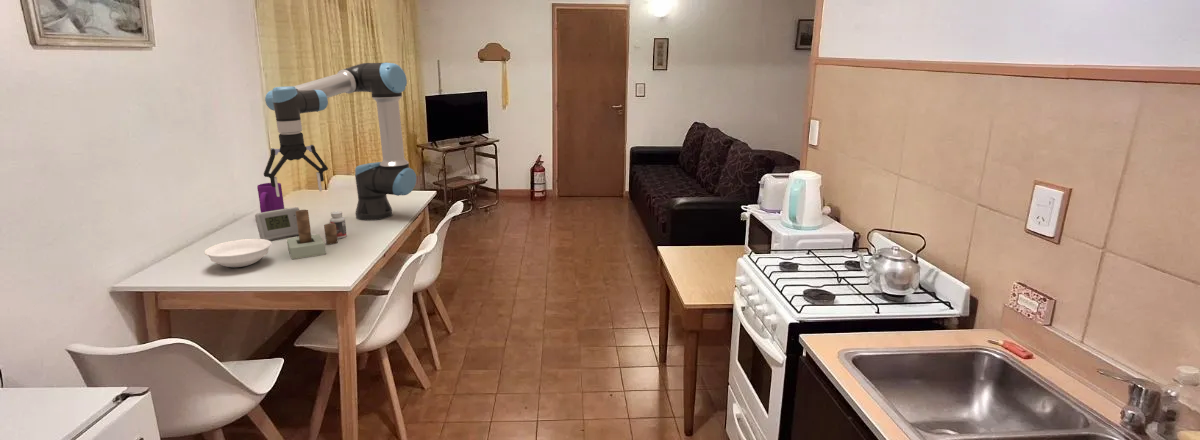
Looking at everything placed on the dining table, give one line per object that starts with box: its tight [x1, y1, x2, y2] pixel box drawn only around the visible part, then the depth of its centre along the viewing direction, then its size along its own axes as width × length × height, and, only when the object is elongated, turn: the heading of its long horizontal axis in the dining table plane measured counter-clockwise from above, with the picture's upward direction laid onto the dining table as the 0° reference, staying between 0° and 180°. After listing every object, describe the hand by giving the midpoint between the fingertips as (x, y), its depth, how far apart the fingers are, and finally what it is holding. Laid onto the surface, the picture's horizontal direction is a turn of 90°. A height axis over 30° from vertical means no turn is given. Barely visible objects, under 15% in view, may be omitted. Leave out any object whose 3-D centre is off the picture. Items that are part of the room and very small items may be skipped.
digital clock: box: [254, 206, 300, 242], centre depth 246 cm, size 16×9×11 cm, turn 120°
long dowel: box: [296, 209, 312, 244], centre depth 227 cm, size 4×4×15 cm
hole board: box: [286, 233, 327, 260], centre depth 228 cm, size 11×14×4 cm
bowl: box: [203, 238, 272, 268], centre depth 214 cm, size 20×20×6 cm
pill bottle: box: [329, 210, 348, 239], centre depth 245 cm, size 5×5×10 cm
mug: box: [257, 182, 285, 213], centre depth 270 cm, size 9×16×15 cm, turn 8°
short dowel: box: [323, 222, 339, 245], centre depth 238 cm, size 4×4×7 cm
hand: (299, 193), depth 223 cm, fingers open, 13 cm apart
